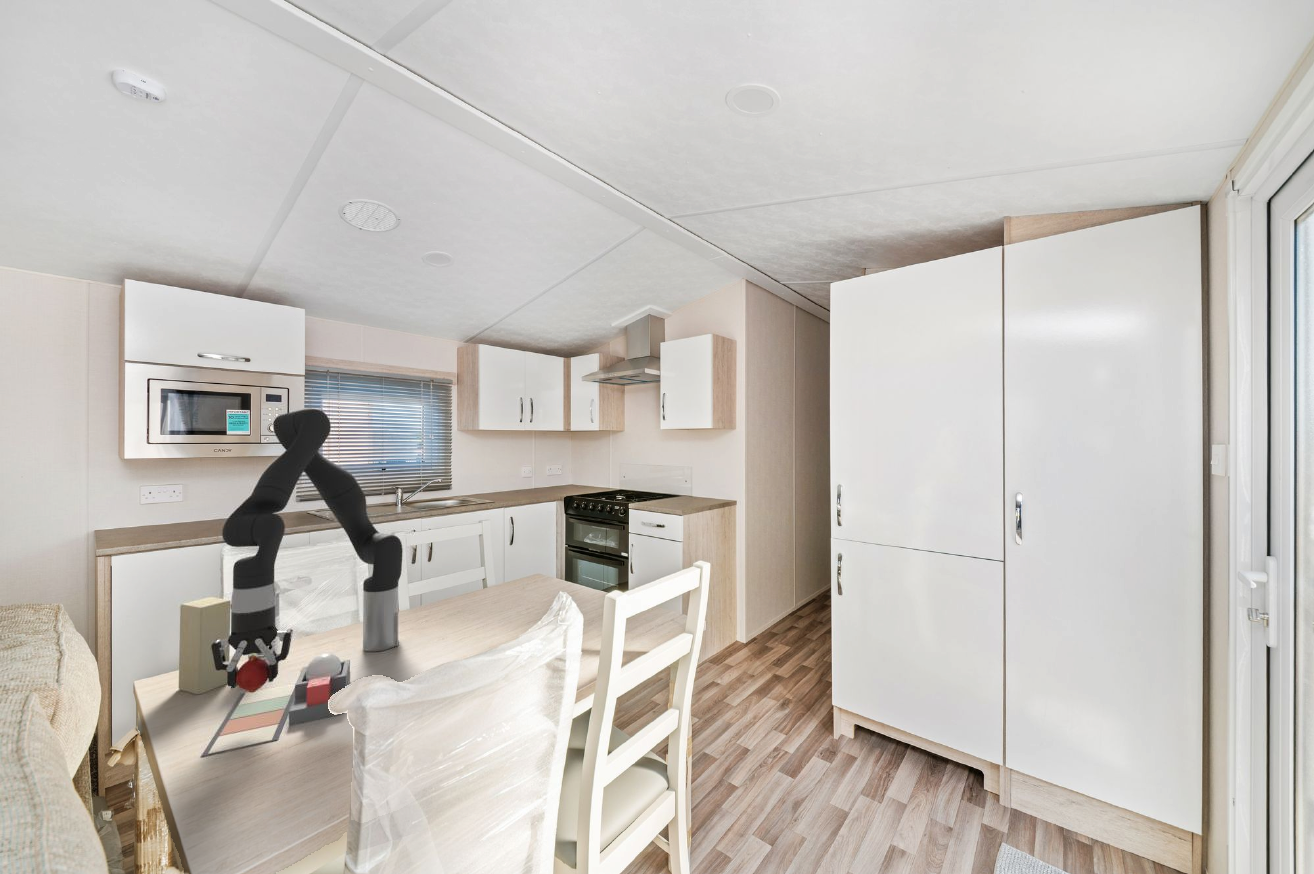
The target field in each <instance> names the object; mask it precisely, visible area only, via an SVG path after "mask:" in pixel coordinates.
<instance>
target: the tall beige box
mask: <svg viewBox="0 0 1314 874" xmlns="http://www.w3.org/2000/svg"><path fill="white" fill-rule="evenodd" d="M179 608H180V609H179V610H180V613H179V615H180V616H179V617H180V618H179V651H178V652H179V653H178V654H179V656H178V658H179V659H178V690H179V691H183V692H187V693H191V694H194V695H202V694H204V693H206V692H209V691H211V690H214V689H217V688H219V687H222V686H224V685H227V671H226V670H219V671H218V670H216V668H215V663H214V658H213V653H212V648H211V645H212V644H213V643H214V642H215V641H216V640H217V639H221V640H222V639H226V638H229V637H230V635H231V600H230V599H227V598H226V599H225V598H220V597H215V596H208V597H204V598H201V599H200V598H199V599H197V600H191V601H187V602H184V603H181V604H180V607H179ZM230 647H231V645H230V644H229V643H228V644H227V647H226V648H225V649H224V652H225V657H226V661H227V662H230Z"/></svg>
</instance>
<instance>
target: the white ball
mask: <svg viewBox="0 0 1314 874" xmlns="http://www.w3.org/2000/svg"><path fill="white" fill-rule="evenodd" d="M341 661H342V660H341V659H340V658H339V656H338V655H336V654H334V653H329V652H327V653H321V654H319V655H317V656H315V657H314V658H312V659H311V660H310V662H309V663H308V665H307V666H306V667H307V670H306V681H310V680H312V679H317V678H323V677H328V676H331V677H333V676H338V675H341Z"/></svg>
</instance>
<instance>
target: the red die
mask: <svg viewBox="0 0 1314 874" xmlns="http://www.w3.org/2000/svg"><path fill="white" fill-rule="evenodd" d="M330 694H331V676H328V677H323V678H317V679H312V680H310V681H309V683H308V686H307V706H309V705H314V704H319V703H324V702H328V700H329V698H330Z"/></svg>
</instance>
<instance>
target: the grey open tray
mask: <svg viewBox="0 0 1314 874" xmlns="http://www.w3.org/2000/svg"><path fill="white" fill-rule="evenodd" d="M340 661H341V675H338V676H333V677H331V694H330V697H331V696H332V695H333V694H335V693H336V692H338V691H339V690H341V689H342V688H345V686H347V685H349V684H350V685H351V663H350V662H351V660H350V659H345V660H340ZM307 667H308V666H304V667H302V668H301V671H300V673H299V675H298V677H297V679H296V682H295V683H294V684H295V698H294V701H293V703H292V706H291V708H290V710H289V714H288V725H289V726H293V725H298V724H302V723H308V722H312V721H316V720H317V721H318V720H321V719H326V718H330V717H337V715H334V714H332V713H330V711H329V709H328V702H324V703H319V704H314V705H309V706H307V686H308V683H309V681H306V670H307ZM329 699H330V698H329Z"/></svg>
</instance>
